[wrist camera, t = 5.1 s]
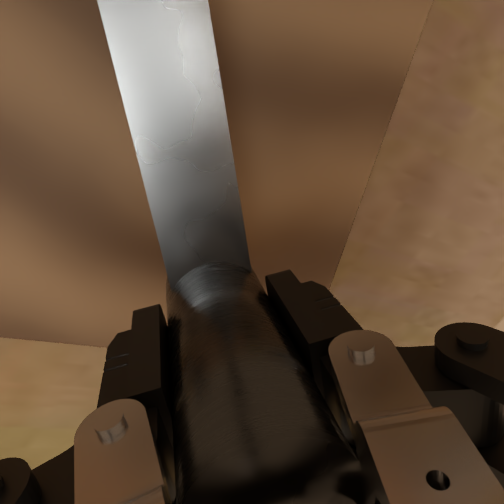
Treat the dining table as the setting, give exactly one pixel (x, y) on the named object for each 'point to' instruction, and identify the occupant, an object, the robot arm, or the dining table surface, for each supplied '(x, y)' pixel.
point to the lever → (217, 282)
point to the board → (242, 141)
